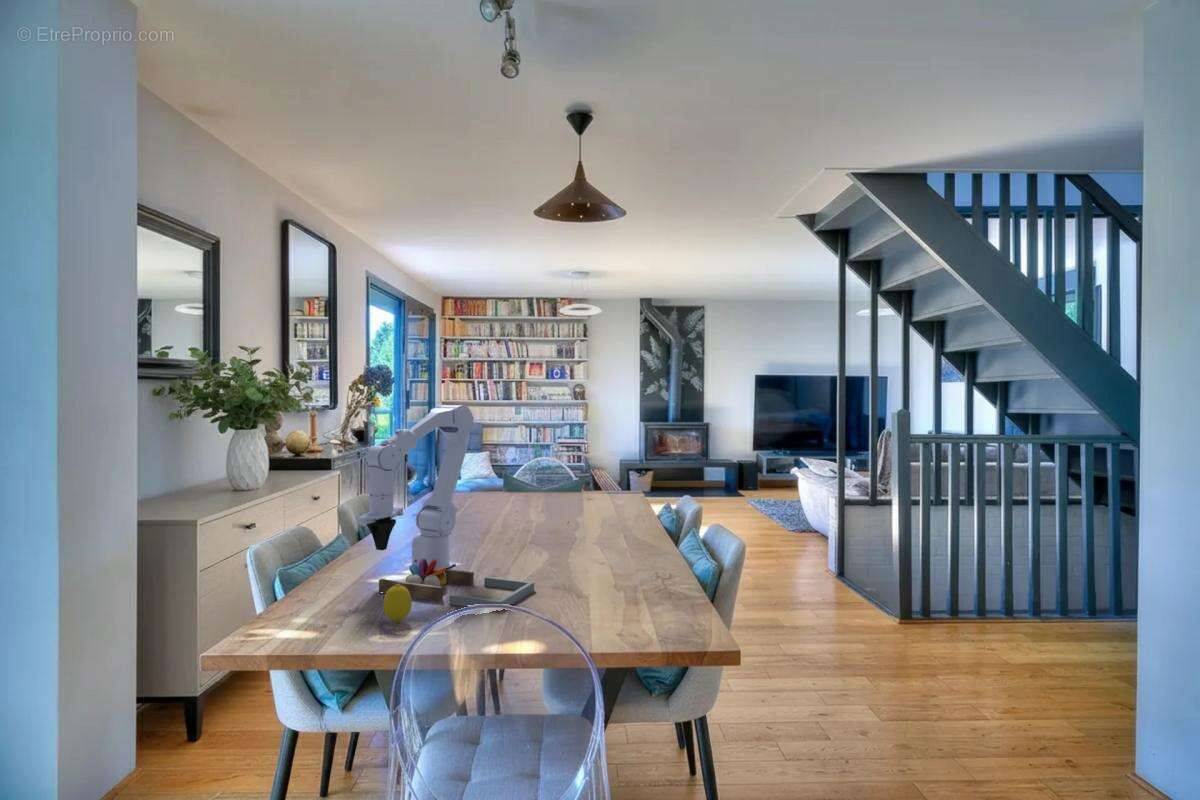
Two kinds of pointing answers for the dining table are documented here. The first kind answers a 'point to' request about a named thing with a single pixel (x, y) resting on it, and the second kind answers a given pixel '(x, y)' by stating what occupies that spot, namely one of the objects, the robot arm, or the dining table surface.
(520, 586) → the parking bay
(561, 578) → the dining table surface
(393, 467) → the robot arm
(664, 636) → the dining table surface
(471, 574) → the lane rails
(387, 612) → the lemon
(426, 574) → the multicolored rounded disc cluster
